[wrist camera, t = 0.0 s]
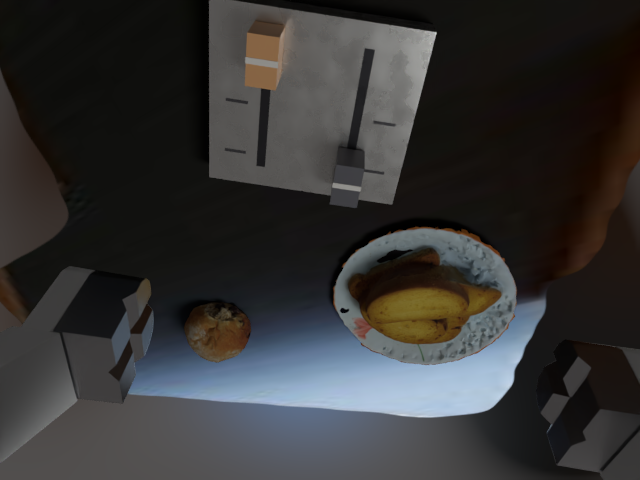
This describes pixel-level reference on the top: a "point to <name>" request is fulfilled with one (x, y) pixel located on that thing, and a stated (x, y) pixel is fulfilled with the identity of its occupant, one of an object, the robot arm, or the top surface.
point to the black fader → (347, 177)
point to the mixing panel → (315, 96)
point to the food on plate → (426, 295)
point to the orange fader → (264, 55)
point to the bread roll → (217, 331)
